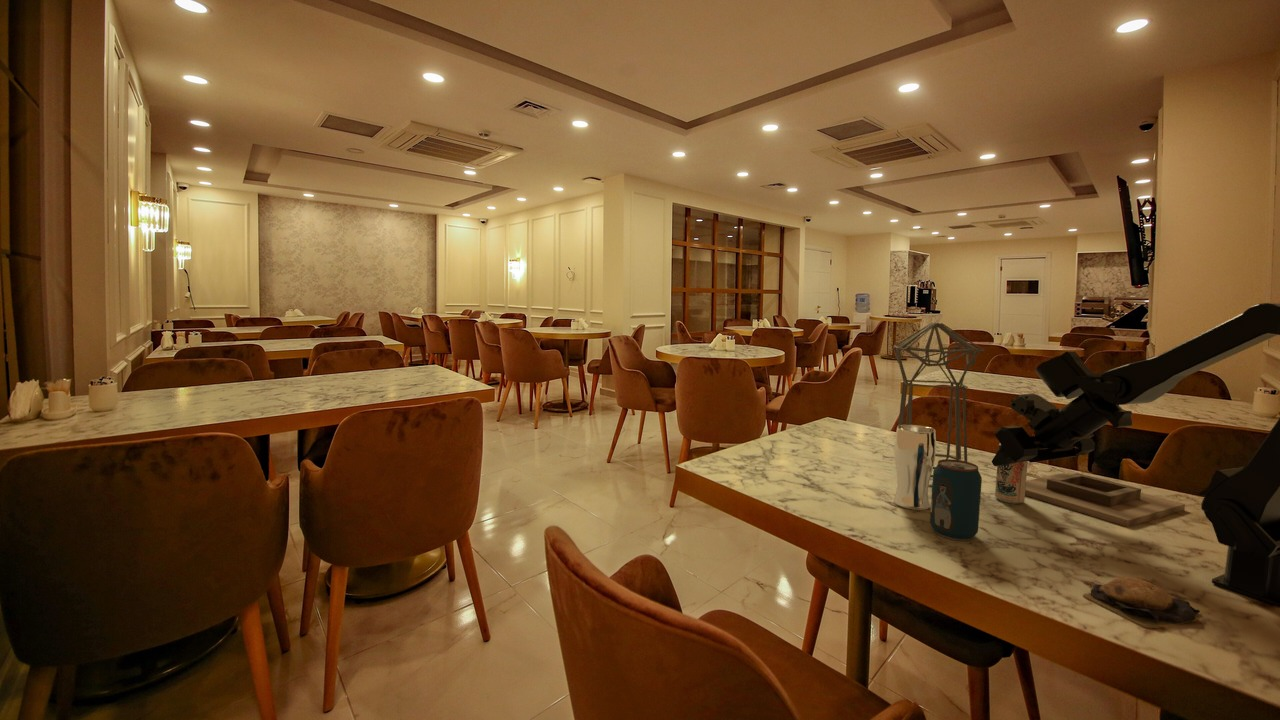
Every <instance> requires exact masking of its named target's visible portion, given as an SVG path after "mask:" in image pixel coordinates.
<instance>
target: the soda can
mask: <svg viewBox="0 0 1280 720" xmlns="http://www.w3.org/2000/svg"><path fill="white" fill-rule="evenodd" d="M961 460H962V459H961ZM961 460H955V459H952V458H948V459H946V458H943V459H939V460H938V461H937V464H936V466H935V467H936V468H935V469H933V470H932V475H933V478H932V484H931V485H932V487H931V500H930V513H929V524H930V526H931V527H932V529H933V531H934V532H935V534H937V535H939V536H940V537H943V538H946V539H949V540H953V541H960V542H961V541H962V542H966V541H970V540H972V539H974V537H975V536H977V533H978V532H979V523H980V509H981V508H980V507H981V496H982V495H981V494H982V484H983V483H982V481H983V477H982V475H981V473H980V471H979V466H978V465H977V464H975V463H972V462H969V461H967V462H966V461H964V460H962V461H961Z"/></svg>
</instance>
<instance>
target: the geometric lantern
mask: <svg viewBox="0 0 1280 720" xmlns="http://www.w3.org/2000/svg"><path fill="white" fill-rule="evenodd" d="M939 329H940V330H941V331H942V332H944V333H945V335H947V336H948V337H949V338H950V339H951V340H952V341H953V342H954V343H955V344H956V346H955V345H954V346H945V347H944V346H943V342H942V338H941V335H940V332H939V331H940V330H939ZM929 331H930V332H929ZM928 332H929V336H928V339H927V342H926V344H925V348H923V347H914V346H913V345H914V344H915V343H916V342H918V341H919V340H920V339H921V338H922V337H924V335H926V334H927V333H928ZM934 332H935V334H936V339H937V344H938V349H936V348H935V349H933V348H930V346H931V344H932V340H933V336H934ZM892 348H893V351H894V354H895V355H894V356H895V357H896V361H897V363H898V366H899V369H900V373H901V376H902V386H901V387H902V388H901V395H900V396H901V397H900V406H899V416H898V422H897V423H898V424H897V426H899V425H904V422H905V425H913V398H914V397H913V396H914V395H913V394H914V390H913V389H914V387H923V388H925V387H927V388H939V389H940V388H942V389H950V391H949V392H950V394H949V406H948V407H949V408H948V409H949V411H948V425H947V427H948V428H947V442H946V443H947V444H946V445H947V447H946V454H938V453H936V454H935V457H939V458H945V459H952V460H961V461H966V462H968V441H967V440H968V438H967V437H968V436H967V406H966V405H967V404H966V403H967V402H966V401H967V400H966V399H967V397H966V389H968V386H967V385H965V384H964V380H965V376H966V374H967V373H968V370H969V368H970V367H972V366H973V367H974V366H975V364H976V358H977V356H978V355H979V353H980V352H985V349H983V348H982V347H981V346H979V345H977V344H976V343H974V342H972V341H971V340H969V339H968V338H966V337H964V336H963V335H961V334H960V333H958V332H957V331H956V330H953V329H952V328H950V327H949V326H948V325H946V324H944V323H942V322H941V323H940V322H931V323H929V324H927V325H926V326H924V327H922V328H921V329H919V330H917V331H915V332H914V333H912V334H911V335H909V336H908V337H905V338H904V339H903V340H901V341H899V342H898V343H896V344H894V345H893V346H892ZM901 351H905V352H906V353H908V354H910V355H911V356H912V357H913V358H916V360H917V361H919V362H921V364H920V365H919V367H918V368H917V369H916V371H915V372H914V374H913V376H912V377H911V379H907V378H908V377H907V376H906V372H905V368H904V365H903V362H902V357H901V355H902V354H901ZM913 351H917V352H923V353H925V357H922V356H920V355H918V354H917V353H914V352H913ZM930 353H939V357H938V360H932V359H931V358H930ZM959 353H960V355H957V356H955V357H952V358H950V359H948V360H946V358H948V357H950V356H951V355H953V354H959ZM961 353H962V354H961ZM970 354H972V355H971V359H970ZM965 356H966V357H965ZM963 357H965V359H966V365H965V368H964V371H963V373H962V374H961V377H960V379H959V381H957V380H956V378H955V376H954V375H953V372H952V371H951V369H950V367H949V366H948V364H949V363H951V362H952V363H953V362H954V361H956V360H959V359H960V358H963ZM942 361H943V362H942ZM942 366H944V367H945V369H946V370H947V372H948V374H949V375H950V377H949V376H948V374H947V373H946V371H945V370H944V368H943V367H942ZM926 367H939V368H940V370H941V371H942V372H943V374H944V375H945V376H946V379H947V380H948V381H947V380H946V381H945V380H920V379H917V377H918V376H919V375H920V374H921V372H923V370H924V369H925V368H926ZM950 378H951V379H952V380H951V379H950ZM914 383H937V384H938V383H939V384H941V383H942V384H950V385H934V384H933V385H931V384H914ZM954 385H955V386H954ZM908 387H909V388H908ZM908 389H909V391H908ZM961 389H962V422H963V423H962V424H963V425H962V426H963V458H964V460H962V441H961V440H962V438H961V399H960V393H961V392H960V390H961ZM907 392H908V399H907ZM953 398H954V400H953ZM953 401H954V402H953ZM953 403H954V417H955V418H954V421H955V427H954V428H955V431H954V432H955V456H953V455H950V451H951V439H952V437H951V436H952V419H953V418H952V417H953V416H952V415H953ZM906 404H907V406H906ZM906 407H907V408H906ZM906 409H907V410H906ZM905 412H906V414H905ZM905 415H906V416H905ZM905 417H906V420H905ZM935 468H936V466H933V470H934V469H935ZM931 478H932V479H933V474H931V477H930V479H931ZM928 488H932V484H931V485H930V484H929V486H928Z"/></svg>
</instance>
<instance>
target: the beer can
mask: <svg viewBox="0 0 1280 720" xmlns="http://www.w3.org/2000/svg"><path fill="white" fill-rule="evenodd" d="M1000 446H1001V443H1000V442H999V444H998V449H999V448H1000ZM1028 462H1029V461H1026V462H1020V463H1013V464H1007V465H1001V466H996V475H995V477H996V478H995V492H994V497H995V498H997V499H998V500H999V501H1001V502H1004V503H1005V504H1006V503H1007V504H1013V505H1017V504H1018V505H1019V504H1021V503H1024V502H1025V498H1026V496H1025V488H1026V481H1027V474H1028V473H1027V472H1028Z"/></svg>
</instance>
